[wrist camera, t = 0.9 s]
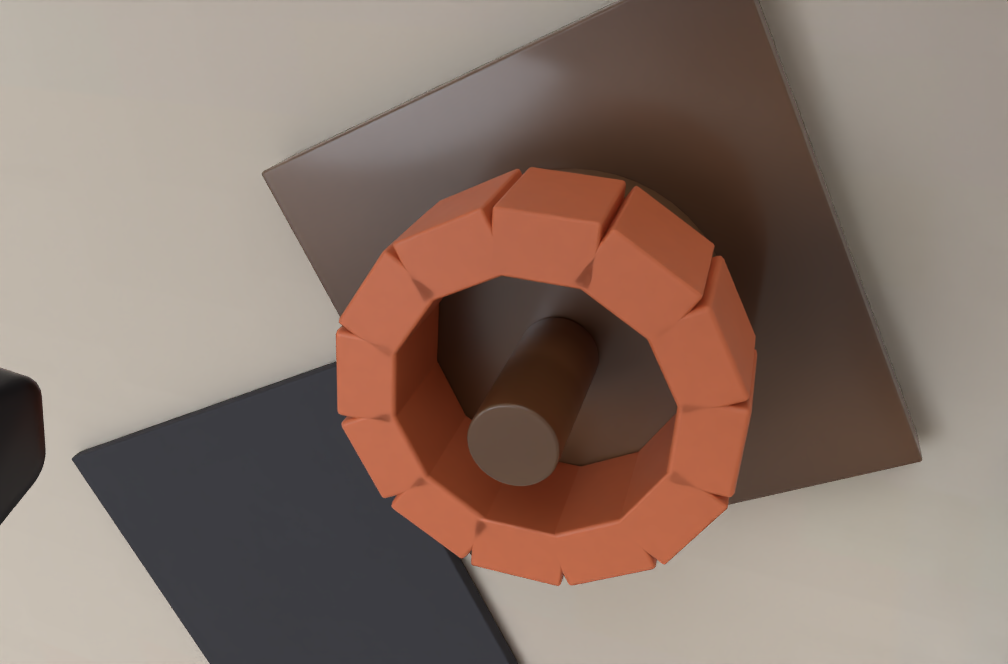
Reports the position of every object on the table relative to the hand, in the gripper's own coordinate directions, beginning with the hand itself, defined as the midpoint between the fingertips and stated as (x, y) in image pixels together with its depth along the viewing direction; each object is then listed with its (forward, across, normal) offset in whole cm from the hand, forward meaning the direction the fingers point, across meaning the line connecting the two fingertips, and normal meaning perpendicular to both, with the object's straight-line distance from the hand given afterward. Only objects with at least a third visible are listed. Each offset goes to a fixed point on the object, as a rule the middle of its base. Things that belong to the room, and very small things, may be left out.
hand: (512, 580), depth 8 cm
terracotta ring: (+10, +1, +4) cm, 11 cm away
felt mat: (+14, +6, +17) cm, 23 cm away
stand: (+14, +1, +4) cm, 14 cm away
